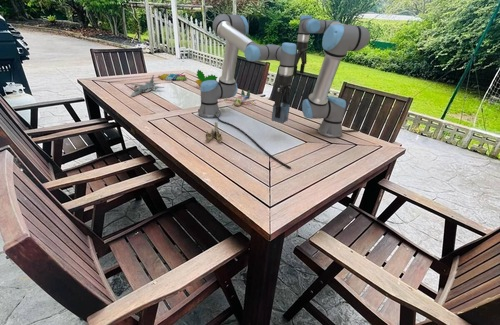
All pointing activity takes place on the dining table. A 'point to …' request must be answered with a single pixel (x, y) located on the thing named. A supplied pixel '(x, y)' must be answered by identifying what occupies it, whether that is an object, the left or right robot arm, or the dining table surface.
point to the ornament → (202, 77)
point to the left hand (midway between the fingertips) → (280, 115)
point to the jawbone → (214, 134)
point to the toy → (241, 99)
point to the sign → (172, 77)
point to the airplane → (145, 87)
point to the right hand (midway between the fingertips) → (297, 74)
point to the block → (281, 113)
